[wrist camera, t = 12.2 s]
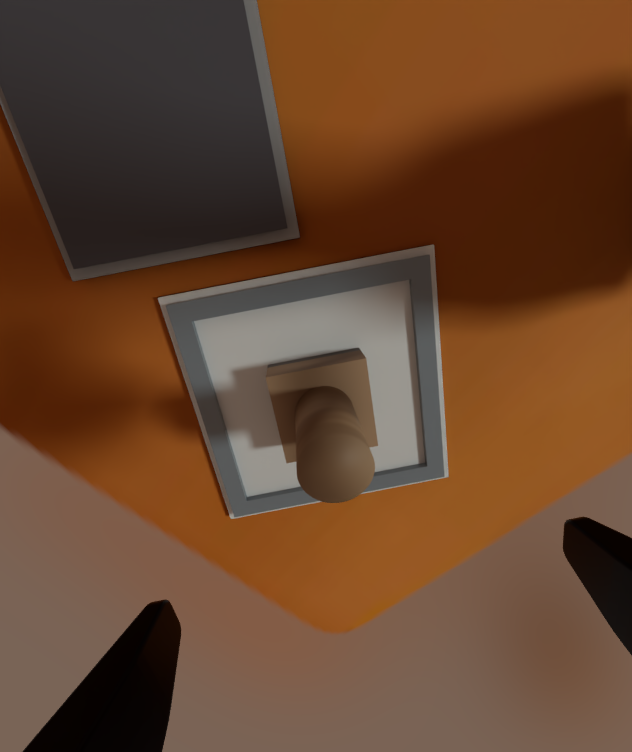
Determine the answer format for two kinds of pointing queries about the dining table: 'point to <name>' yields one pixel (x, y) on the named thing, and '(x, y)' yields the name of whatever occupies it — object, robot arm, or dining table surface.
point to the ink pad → (146, 128)
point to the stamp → (326, 422)
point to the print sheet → (306, 339)
